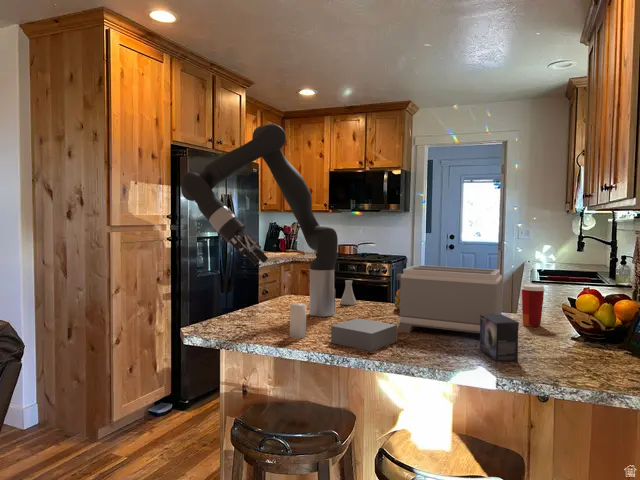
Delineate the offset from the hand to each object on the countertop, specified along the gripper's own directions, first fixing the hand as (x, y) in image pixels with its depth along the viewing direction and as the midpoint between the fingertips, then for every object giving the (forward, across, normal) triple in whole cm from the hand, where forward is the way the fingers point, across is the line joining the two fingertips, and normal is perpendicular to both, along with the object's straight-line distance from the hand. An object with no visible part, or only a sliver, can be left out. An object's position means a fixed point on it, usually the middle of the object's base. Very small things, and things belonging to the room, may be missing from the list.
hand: (261, 262), depth 146 cm
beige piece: (+24, 0, +8) cm, 25 cm away
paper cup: (+78, +34, -46) cm, 97 cm away
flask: (+30, +59, +1) cm, 66 cm away
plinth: (+39, -2, -7) cm, 39 cm away
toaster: (+57, +20, -25) cm, 65 cm away
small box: (+65, -8, -33) cm, 73 cm away
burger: (+49, +51, -17) cm, 72 cm away
